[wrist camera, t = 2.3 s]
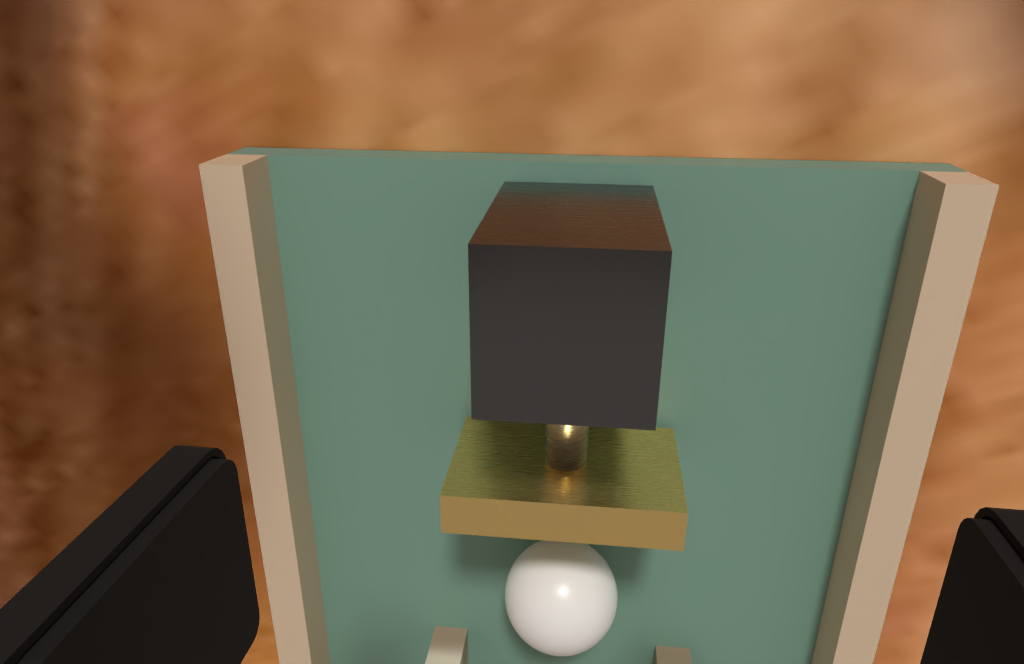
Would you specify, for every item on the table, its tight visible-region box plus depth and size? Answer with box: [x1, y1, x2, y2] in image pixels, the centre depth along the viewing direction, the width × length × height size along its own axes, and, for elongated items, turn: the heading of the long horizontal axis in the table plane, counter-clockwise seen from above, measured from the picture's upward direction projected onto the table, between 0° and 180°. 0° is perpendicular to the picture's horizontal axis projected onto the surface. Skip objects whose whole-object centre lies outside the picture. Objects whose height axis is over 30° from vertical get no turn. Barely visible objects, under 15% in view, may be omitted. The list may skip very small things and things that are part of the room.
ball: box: [505, 540, 618, 656], centre depth 24 cm, size 4×4×4 cm
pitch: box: [199, 147, 999, 664], centre depth 24 cm, size 22×20×3 cm
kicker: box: [440, 181, 688, 551], centre depth 19 cm, size 9×6×6 cm
